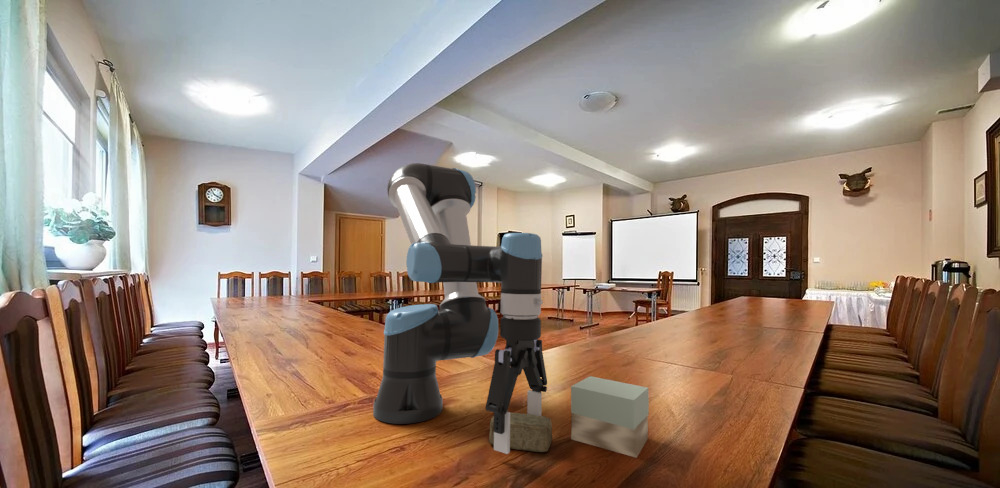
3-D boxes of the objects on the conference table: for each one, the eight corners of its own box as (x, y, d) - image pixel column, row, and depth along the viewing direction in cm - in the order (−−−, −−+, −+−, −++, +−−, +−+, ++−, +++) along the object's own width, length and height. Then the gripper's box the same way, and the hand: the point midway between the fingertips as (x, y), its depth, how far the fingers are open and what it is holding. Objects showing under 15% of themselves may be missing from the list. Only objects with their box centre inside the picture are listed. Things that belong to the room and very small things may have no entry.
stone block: (550, 456, 64) (550, 426, 64) (486, 448, 67) (486, 420, 67) (553, 441, 70) (553, 414, 70) (494, 434, 72) (494, 408, 73)
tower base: (571, 440, 70) (571, 413, 71) (588, 424, 78) (588, 400, 78) (636, 459, 64) (636, 429, 64) (647, 440, 71) (647, 413, 72)
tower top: (571, 412, 71) (571, 386, 72) (590, 400, 78) (590, 376, 79) (634, 429, 64) (633, 400, 64) (648, 414, 71) (648, 387, 72)
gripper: (504, 325, 56) (502, 473, 55) (564, 312, 77) (563, 420, 75) (465, 321, 60) (462, 459, 59) (531, 309, 81) (530, 412, 79)
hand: (519, 437), depth 67 cm, fingers open, 11 cm apart
